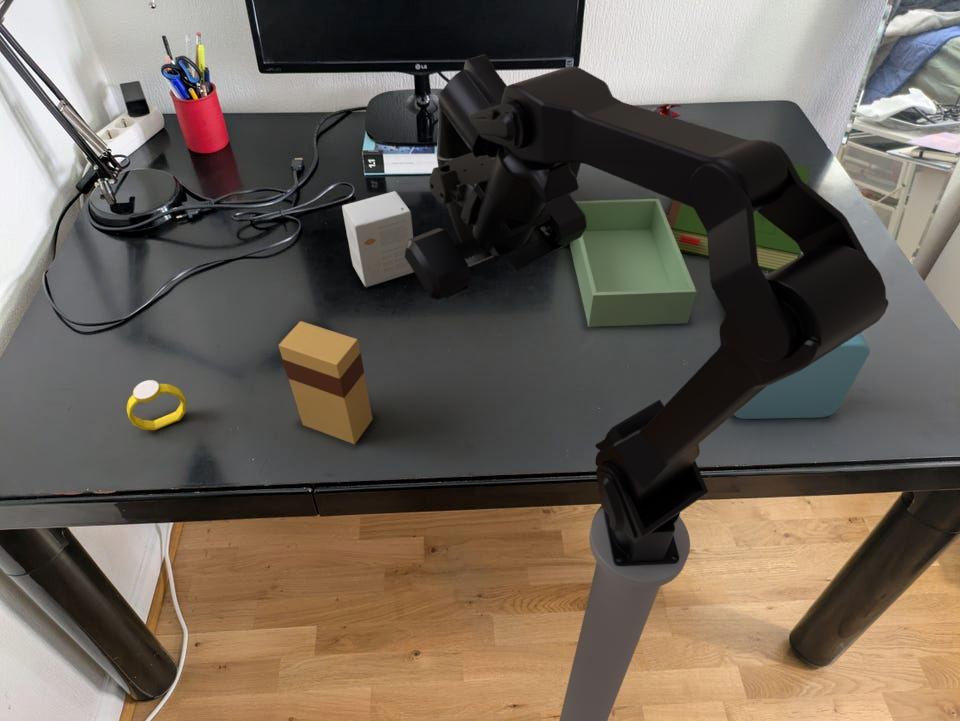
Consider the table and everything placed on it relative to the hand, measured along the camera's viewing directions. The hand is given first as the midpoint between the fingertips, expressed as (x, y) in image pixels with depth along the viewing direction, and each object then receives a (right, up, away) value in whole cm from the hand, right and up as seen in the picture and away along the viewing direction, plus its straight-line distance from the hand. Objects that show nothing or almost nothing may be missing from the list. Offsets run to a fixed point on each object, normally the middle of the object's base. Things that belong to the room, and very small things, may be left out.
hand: (481, 281), depth 76 cm
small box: (-14, +4, +23) cm, 27 cm away
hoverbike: (+33, +32, +49) cm, 68 cm away
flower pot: (+4, +12, +31) cm, 33 cm away
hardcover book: (+40, +13, +32) cm, 52 cm away
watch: (-37, -16, +4) cm, 40 cm away
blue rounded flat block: (+35, -14, +5) cm, 38 cm away
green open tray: (+20, +4, +22) cm, 30 cm away
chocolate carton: (-17, -16, +3) cm, 23 cm away
